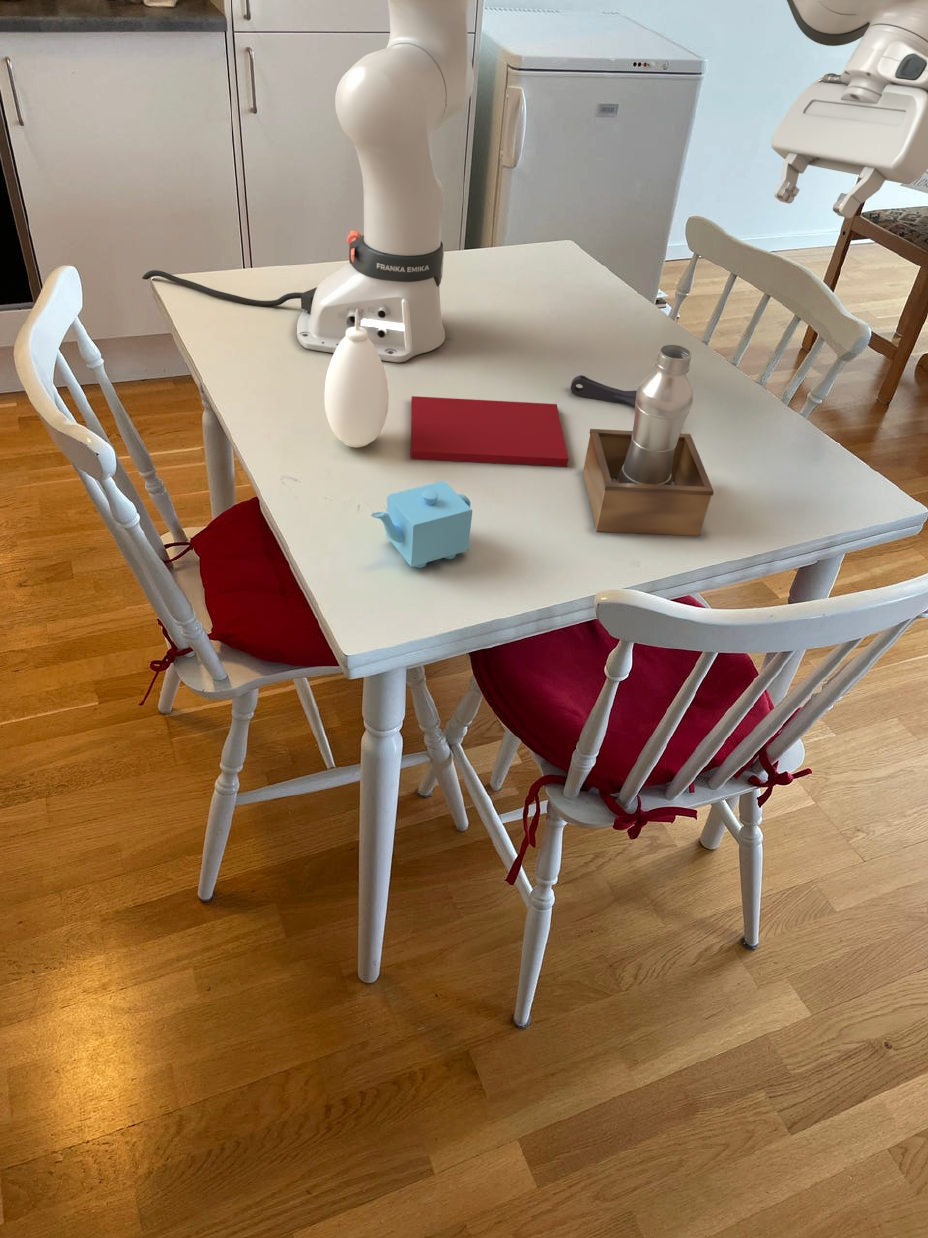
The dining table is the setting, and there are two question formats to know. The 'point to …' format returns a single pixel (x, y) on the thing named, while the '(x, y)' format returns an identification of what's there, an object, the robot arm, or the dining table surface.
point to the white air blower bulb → (356, 389)
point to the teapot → (427, 523)
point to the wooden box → (645, 489)
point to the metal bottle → (659, 418)
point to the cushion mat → (487, 431)
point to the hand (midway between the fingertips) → (810, 207)
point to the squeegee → (601, 391)
